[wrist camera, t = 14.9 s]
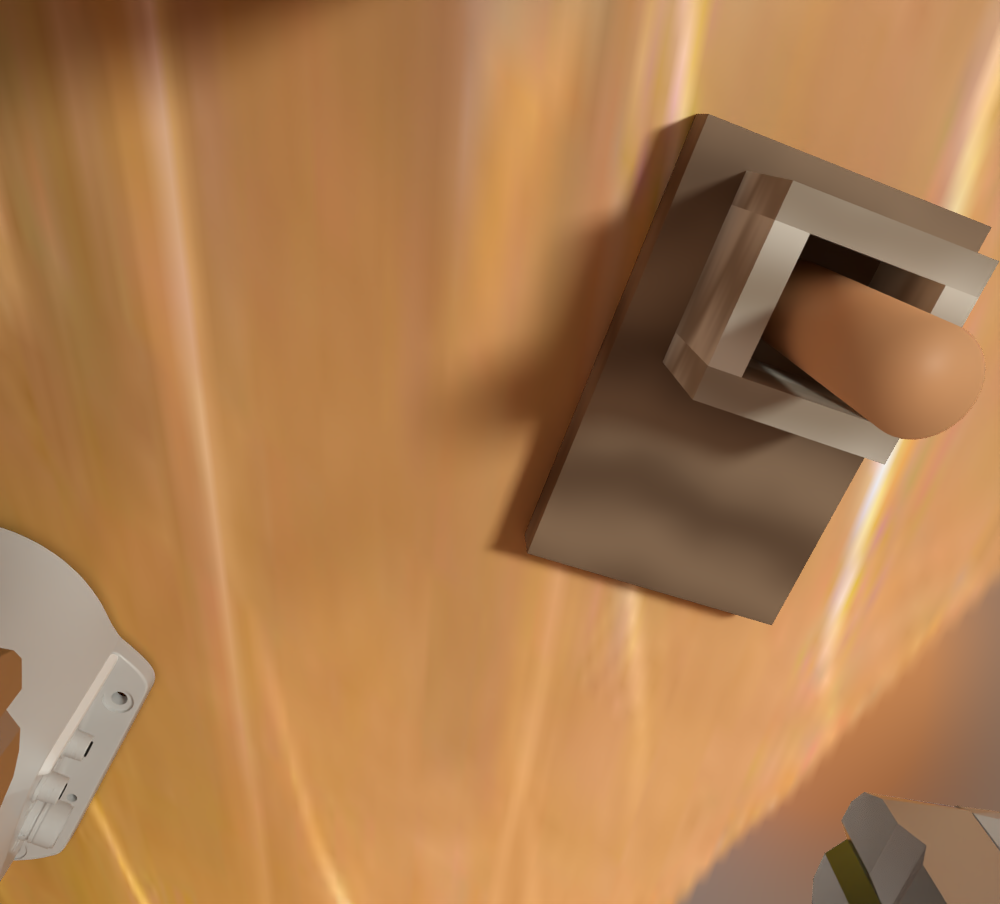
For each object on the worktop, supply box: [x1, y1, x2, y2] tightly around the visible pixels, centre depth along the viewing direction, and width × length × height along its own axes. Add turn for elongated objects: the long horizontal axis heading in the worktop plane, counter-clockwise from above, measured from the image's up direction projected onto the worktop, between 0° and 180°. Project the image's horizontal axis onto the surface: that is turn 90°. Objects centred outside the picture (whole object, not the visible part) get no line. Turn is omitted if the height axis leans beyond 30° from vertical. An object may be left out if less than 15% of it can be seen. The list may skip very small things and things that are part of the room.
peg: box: [761, 259, 986, 439], centre depth 33 cm, size 4×4×12 cm
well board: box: [525, 114, 999, 625], centre depth 38 cm, size 22×14×8 cm, turn 160°
